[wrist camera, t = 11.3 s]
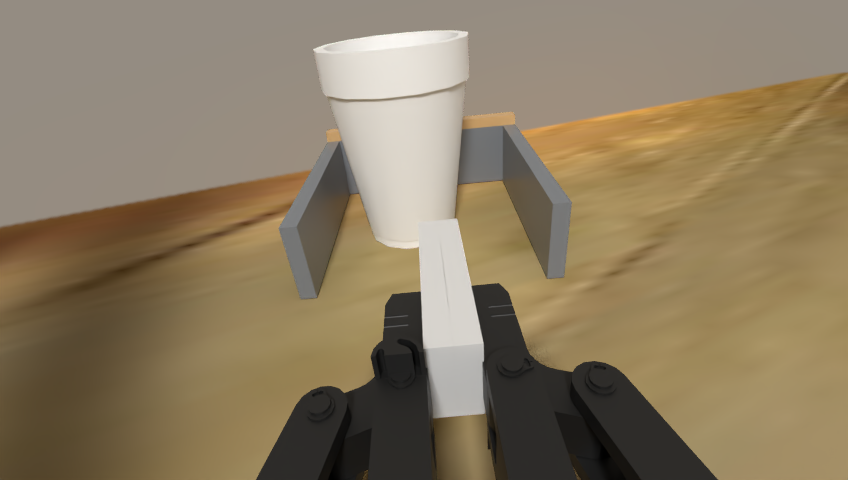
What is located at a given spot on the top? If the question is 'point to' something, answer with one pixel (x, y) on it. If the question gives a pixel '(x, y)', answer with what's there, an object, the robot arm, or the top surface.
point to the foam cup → (400, 124)
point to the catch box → (479, 162)
